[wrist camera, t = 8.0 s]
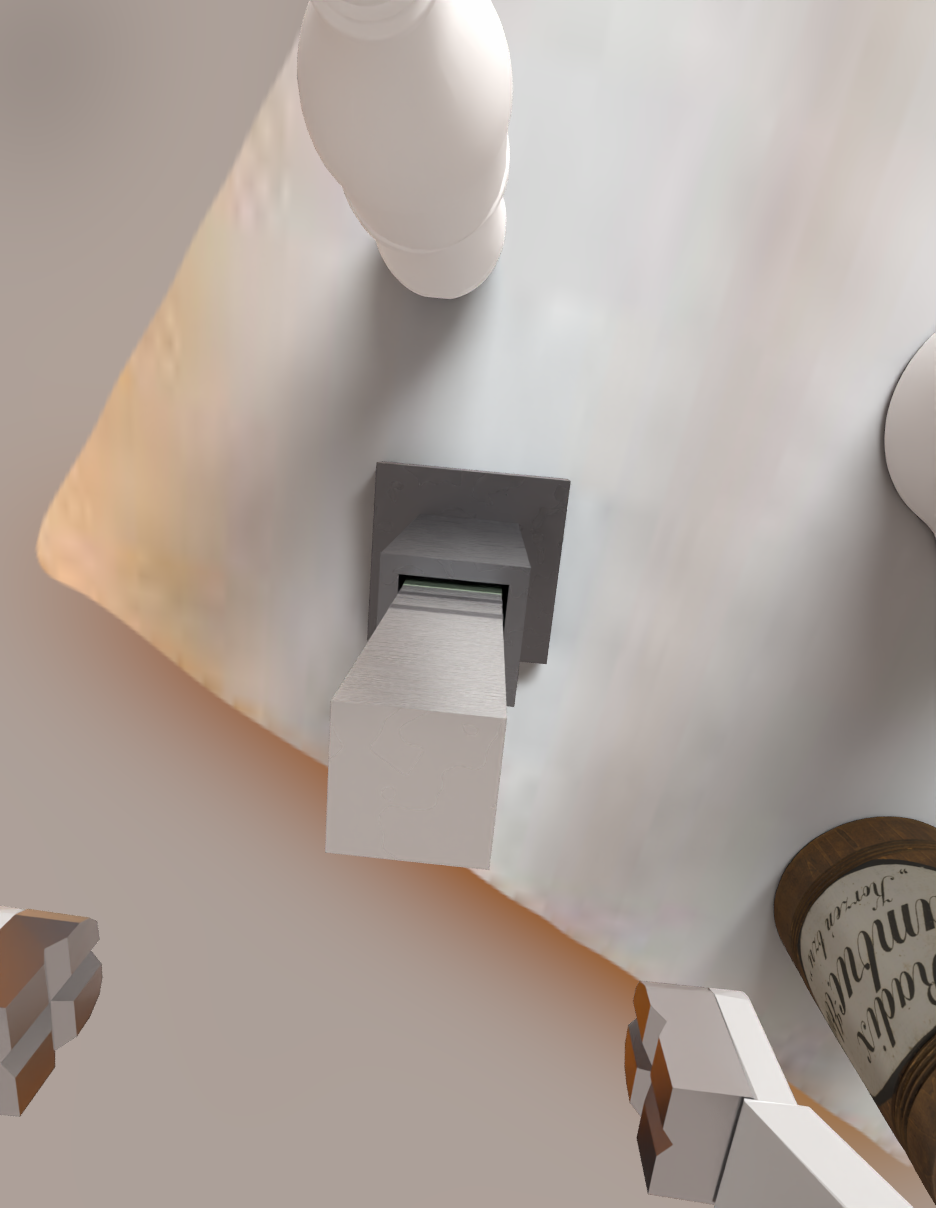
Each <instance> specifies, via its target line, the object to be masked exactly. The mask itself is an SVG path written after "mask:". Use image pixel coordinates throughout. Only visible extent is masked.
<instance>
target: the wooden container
mask: <svg viewBox="0 0 936 1208" xmlns="http://www.w3.org/2000/svg"><path fill="white" fill-rule="evenodd" d="M774 918H775V924H776V928H777V931H778V933H779V936H780V938H781V940H782V942H783V944H784V946H785V948H786V950H787V952H788V953H789V955H790V957H791V959H792V961H793V962H794V964H795V966H796V968H797V970H798V971H799V973H800V975H801V977H802V978H803V980H804V982H805V984H806V986H807V988H808V990H809V992H810V994H811V995H812V997H813V999H814V1000H815V1002H816V1004H817V1006H818V1007H819V1009H820V1011H821V1013H822V1014H823V1016H824V1018H825V1020H826V1021H827V1023H828V1025H829V1026H830V1028H831V1030H832V1032H833V1033H834V1035H835V1037H836V1038H837V1040H838V1042H839V1044H840V1045H841V1047H842V1049H843V1050H844V1052H845V1053H846V1055H847V1057H848V1058H849V1060H850V1061H851V1063H852V1065H853V1066H854V1068H855V1070H856V1071H857V1073H858V1074H859V1076H860V1078H861V1079H862V1081H863V1083H864V1084H865V1086H866V1088H867V1090H868V1091H869V1093H870V1095H871V1096H872V1098H873V1100H874V1101H875V1103H876V1105H877V1107H878V1108H879V1110H880V1112H881V1113H882V1115H883V1117H884V1118H885V1120H886V1122H887V1123H888V1125H889V1127H890V1128H891V1130H892V1132H893V1133H894V1135H895V1137H896V1138H897V1140H898V1141H899V1143H900V1144H901V1146H902V1147H903V1149H904V1150H905V1152H906V1154H907V1156H908V1158H909V1160H910V1161H911V1163H912V1165H913V1166H914V1169H915V1171H916V1172H917V1174H918V1175H919V1178H920V1179H921V1181H922V1183H923V1185H924V1186H925V1188H926V1190H927V1192H928V1193H929V1195H930V1196H931V1198H932V1200H933V1202H934V1203H935V1205H936V828H935V827H933V826H931V825H929V824H926V823H924V822H921V821H917V820H913V819H909V818H902V817H873V818H866V819H861V820H856V821H852V822H849V823H846V824H843V825H840V826H838V827H836V828H834V829H832V830H830V831H828V832H826V833H824V834H822V835H820V836H819V837H817V838H816V839H814V840H813V841H812V842H810V843H809V844H808V845H807V846H806V847H804V848H803V849H802V850H801V851H800V852H799V853H798V854H797V855H796V857H795V858H794V859H793V860H792V861H791V863H790V864H789V865H788V866H787V868H786V870H785V872H784V874H783V875H782V878H781V880H780V883H779V885H778V888H777V891H776V895H775V901H774Z"/></svg>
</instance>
